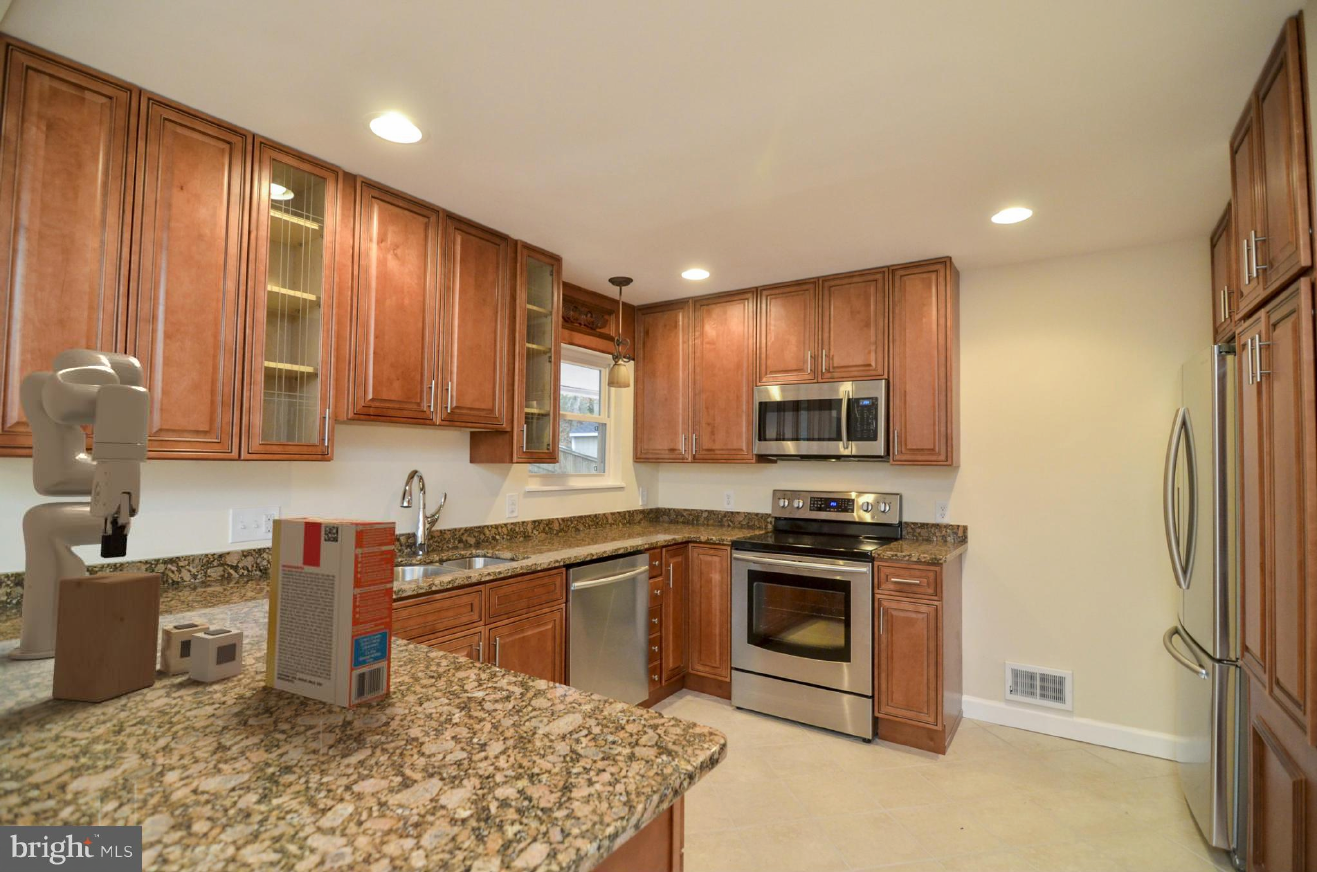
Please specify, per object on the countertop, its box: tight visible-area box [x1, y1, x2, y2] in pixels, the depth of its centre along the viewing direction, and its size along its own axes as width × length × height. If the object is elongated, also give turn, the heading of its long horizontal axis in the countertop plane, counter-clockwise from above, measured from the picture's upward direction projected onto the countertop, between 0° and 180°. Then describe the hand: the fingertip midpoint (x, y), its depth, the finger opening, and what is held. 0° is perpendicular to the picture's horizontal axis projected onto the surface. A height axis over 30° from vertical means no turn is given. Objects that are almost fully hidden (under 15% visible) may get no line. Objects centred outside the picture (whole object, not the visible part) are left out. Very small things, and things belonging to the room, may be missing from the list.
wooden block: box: [51, 570, 162, 703], centre depth 111 cm, size 10×10×20 cm
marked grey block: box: [188, 627, 244, 684], centre depth 120 cm, size 6×6×8 cm
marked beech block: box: [159, 621, 210, 676], centre depth 124 cm, size 6×6×8 cm
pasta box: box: [264, 516, 397, 709], centre depth 114 cm, size 23×8×30 cm, turn 63°
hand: (113, 556), depth 112 cm, fingers closed
